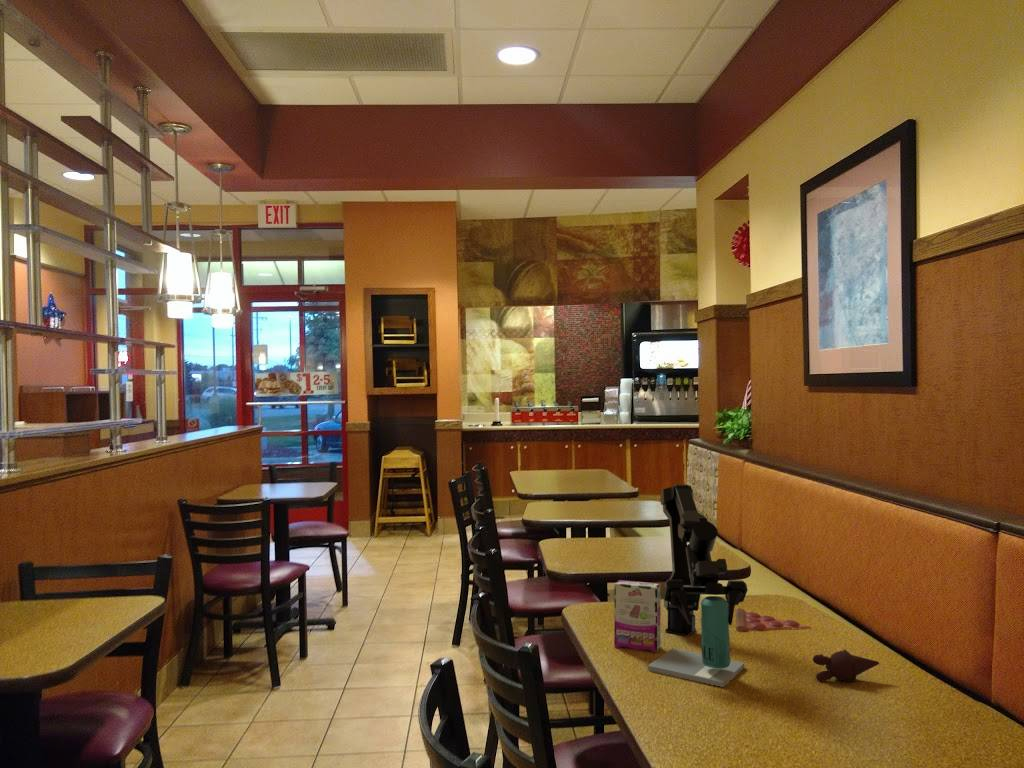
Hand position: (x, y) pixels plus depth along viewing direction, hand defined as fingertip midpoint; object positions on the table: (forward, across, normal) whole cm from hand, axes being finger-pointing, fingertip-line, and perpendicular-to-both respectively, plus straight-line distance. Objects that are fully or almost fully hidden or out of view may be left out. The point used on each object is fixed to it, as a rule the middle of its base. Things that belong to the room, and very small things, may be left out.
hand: (710, 624), depth 176 cm
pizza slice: (-20, +27, +39) cm, 52 cm away
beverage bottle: (+7, +2, +9) cm, 12 cm away
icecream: (+8, +31, +10) cm, 34 cm away
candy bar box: (-6, -14, +24) cm, 28 cm away
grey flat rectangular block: (+5, -2, +13) cm, 14 cm away
